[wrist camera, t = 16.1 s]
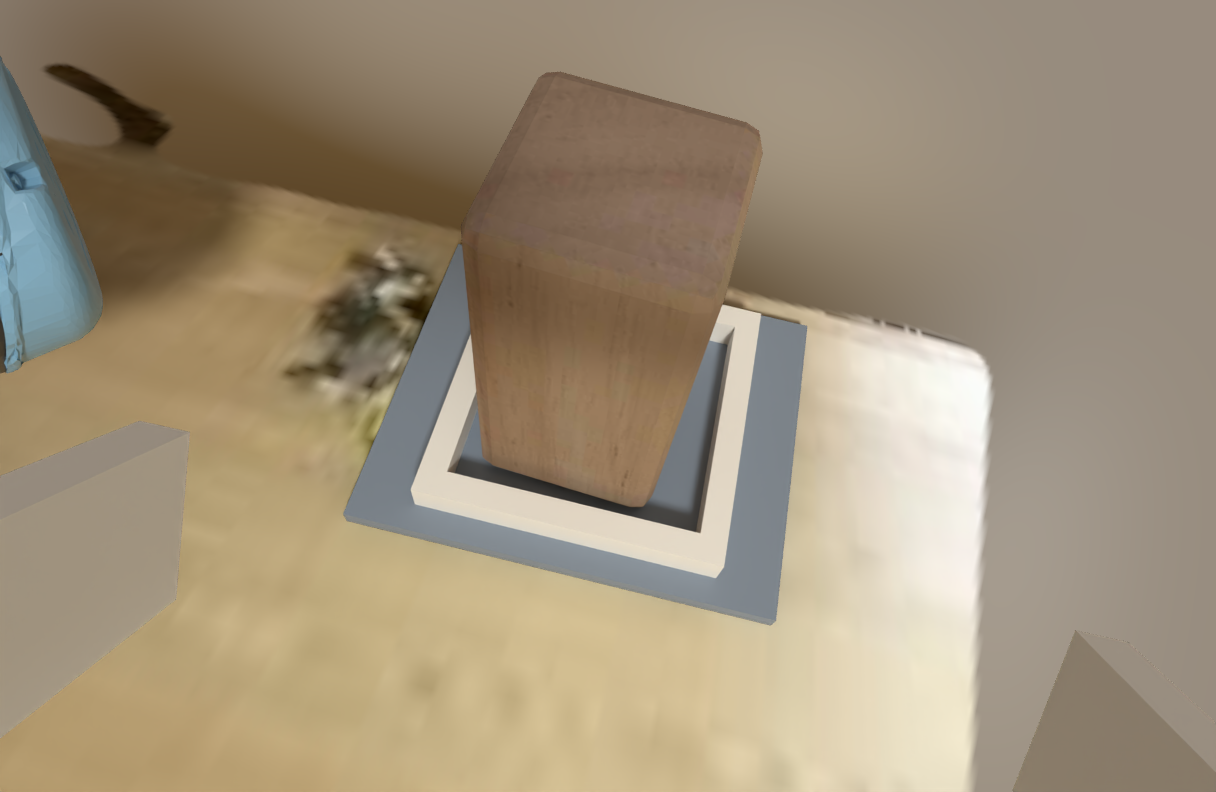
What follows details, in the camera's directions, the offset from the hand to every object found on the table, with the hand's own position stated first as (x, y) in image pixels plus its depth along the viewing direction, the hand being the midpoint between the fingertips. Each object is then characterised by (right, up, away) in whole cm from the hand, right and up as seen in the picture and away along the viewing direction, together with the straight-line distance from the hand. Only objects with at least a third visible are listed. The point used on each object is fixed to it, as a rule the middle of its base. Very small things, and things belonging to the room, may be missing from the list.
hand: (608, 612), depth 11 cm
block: (-1, +2, +35) cm, 36 cm away
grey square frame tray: (-1, +2, +37) cm, 37 cm away
